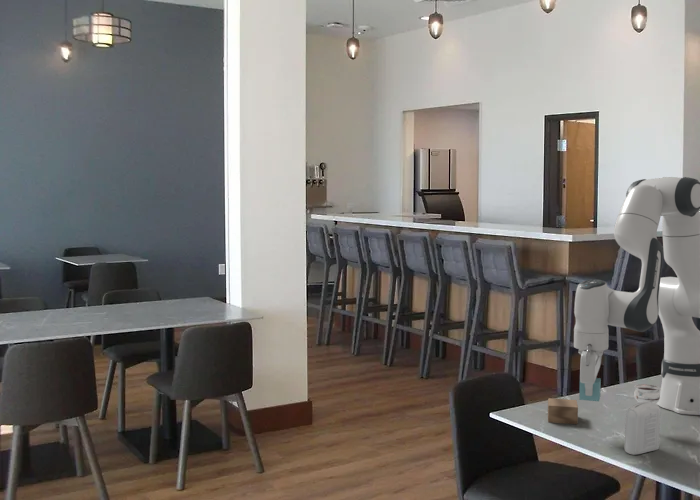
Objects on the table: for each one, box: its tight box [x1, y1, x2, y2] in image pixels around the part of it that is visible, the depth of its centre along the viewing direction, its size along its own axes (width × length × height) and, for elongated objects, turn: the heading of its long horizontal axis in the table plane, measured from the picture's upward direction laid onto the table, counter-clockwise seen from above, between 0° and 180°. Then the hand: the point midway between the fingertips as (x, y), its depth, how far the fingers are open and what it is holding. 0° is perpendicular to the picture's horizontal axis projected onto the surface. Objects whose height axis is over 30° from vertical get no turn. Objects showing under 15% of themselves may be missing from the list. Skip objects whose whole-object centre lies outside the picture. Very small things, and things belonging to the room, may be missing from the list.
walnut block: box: [547, 397, 579, 425], centre depth 227 cm, size 8×8×5 cm
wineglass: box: [633, 383, 661, 404], centre depth 217 cm, size 7×7×12 cm
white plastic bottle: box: [624, 402, 662, 456], centre depth 200 cm, size 10×4×12 cm, turn 123°
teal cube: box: [578, 377, 602, 402], centre depth 212 cm, size 5×5×5 cm
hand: (590, 392), depth 212 cm, fingers closed on teal cube, 5 cm apart
